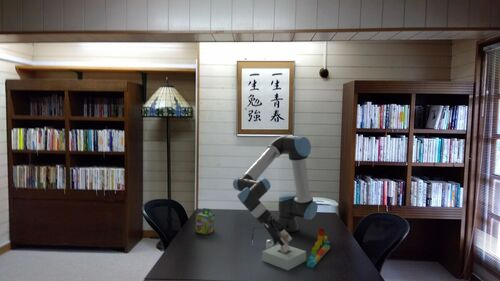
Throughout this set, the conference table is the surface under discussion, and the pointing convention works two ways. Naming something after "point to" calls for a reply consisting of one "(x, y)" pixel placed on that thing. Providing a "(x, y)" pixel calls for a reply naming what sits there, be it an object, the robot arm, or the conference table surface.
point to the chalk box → (205, 222)
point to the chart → (317, 256)
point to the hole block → (284, 257)
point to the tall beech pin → (286, 238)
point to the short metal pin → (269, 243)
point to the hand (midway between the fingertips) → (289, 244)
